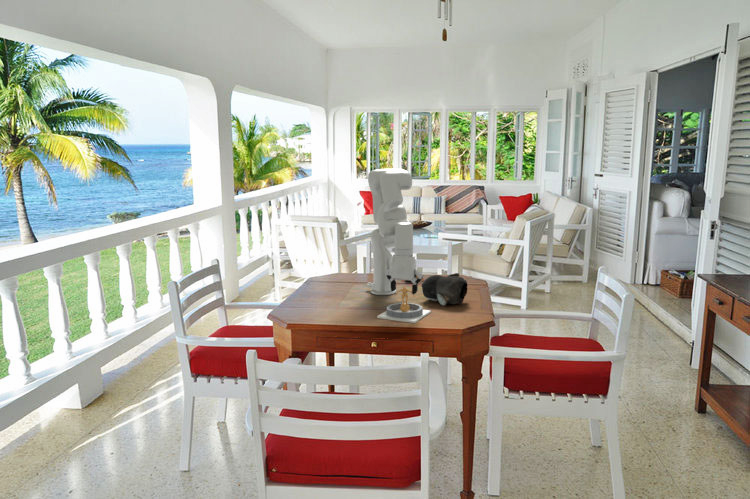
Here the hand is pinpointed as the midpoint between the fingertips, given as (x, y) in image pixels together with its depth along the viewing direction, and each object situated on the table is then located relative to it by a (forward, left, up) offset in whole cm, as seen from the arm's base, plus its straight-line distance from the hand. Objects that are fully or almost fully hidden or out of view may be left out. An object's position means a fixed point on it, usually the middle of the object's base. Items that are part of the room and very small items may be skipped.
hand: (403, 292), depth 239 cm
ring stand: (0, -1, -10) cm, 10 cm away
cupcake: (-23, +60, -10) cm, 65 cm away
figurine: (+1, 0, -9) cm, 9 cm away
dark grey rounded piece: (+8, +26, -10) cm, 29 cm away
